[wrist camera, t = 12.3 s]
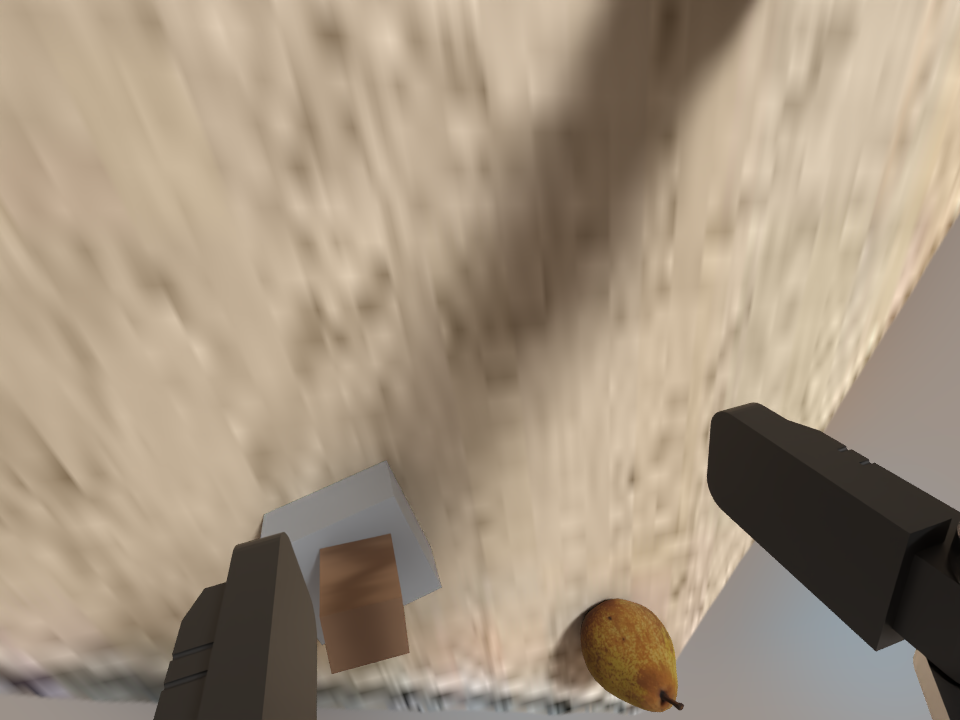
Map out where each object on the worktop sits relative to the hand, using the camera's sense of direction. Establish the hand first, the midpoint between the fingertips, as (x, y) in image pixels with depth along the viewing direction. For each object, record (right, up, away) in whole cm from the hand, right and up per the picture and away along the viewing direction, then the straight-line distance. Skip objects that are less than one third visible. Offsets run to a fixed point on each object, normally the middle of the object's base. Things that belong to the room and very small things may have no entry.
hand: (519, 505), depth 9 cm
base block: (-11, -11, +33) cm, 37 cm away
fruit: (+13, -25, +46) cm, 54 cm away
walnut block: (-9, -13, +29) cm, 33 cm away
